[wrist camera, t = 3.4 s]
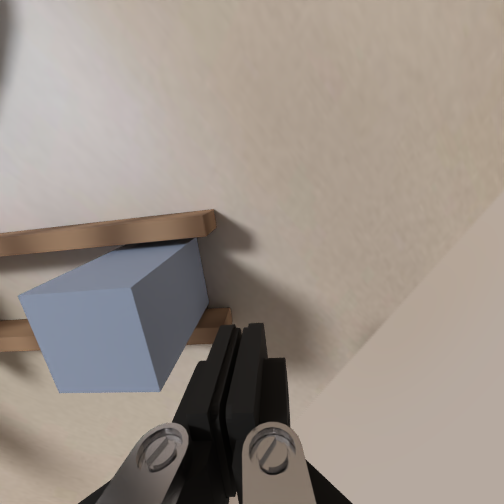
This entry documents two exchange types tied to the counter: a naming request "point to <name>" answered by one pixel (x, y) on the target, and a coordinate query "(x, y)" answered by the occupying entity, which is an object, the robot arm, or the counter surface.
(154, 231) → the track
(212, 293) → the counter surface
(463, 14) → the counter surface
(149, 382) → the block
